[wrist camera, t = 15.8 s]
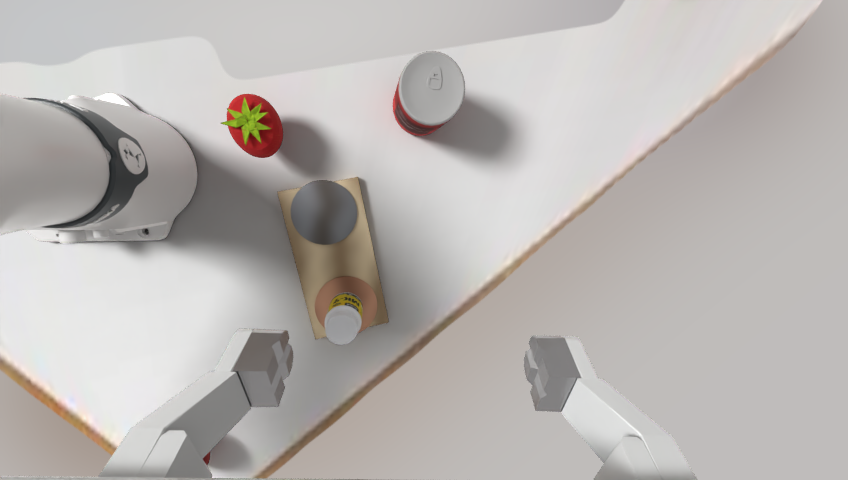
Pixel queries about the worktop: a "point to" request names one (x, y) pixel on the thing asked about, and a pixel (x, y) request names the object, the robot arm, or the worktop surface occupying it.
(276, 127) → the strawberry
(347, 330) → the supplement bottle
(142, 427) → the robot arm
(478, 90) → the worktop surface
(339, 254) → the board
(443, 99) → the canned food
